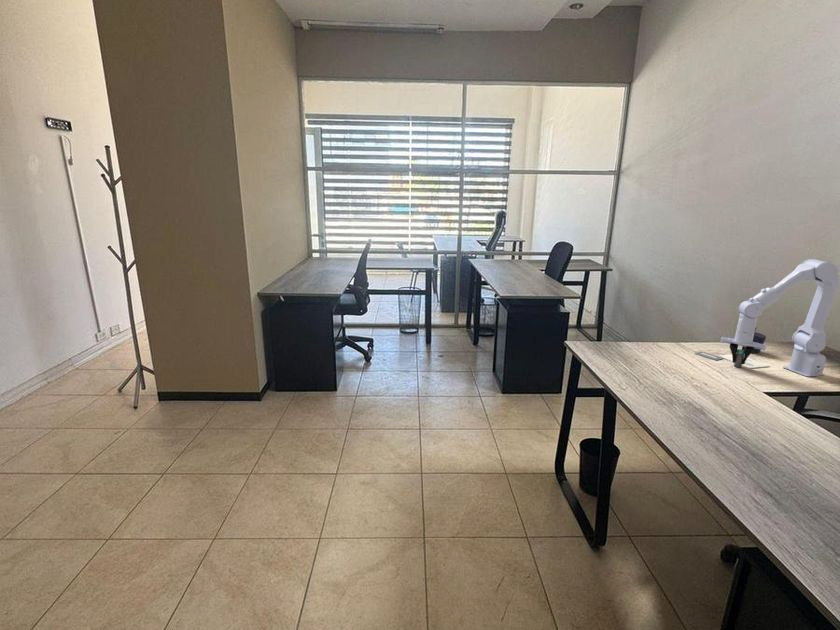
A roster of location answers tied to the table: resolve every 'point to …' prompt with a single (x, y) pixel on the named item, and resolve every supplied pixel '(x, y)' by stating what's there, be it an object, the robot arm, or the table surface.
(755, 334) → the speaker
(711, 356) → the plate
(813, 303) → the robot arm
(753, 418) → the table surface
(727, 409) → the table surface
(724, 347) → the table surface
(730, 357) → the paper
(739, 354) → the marker
